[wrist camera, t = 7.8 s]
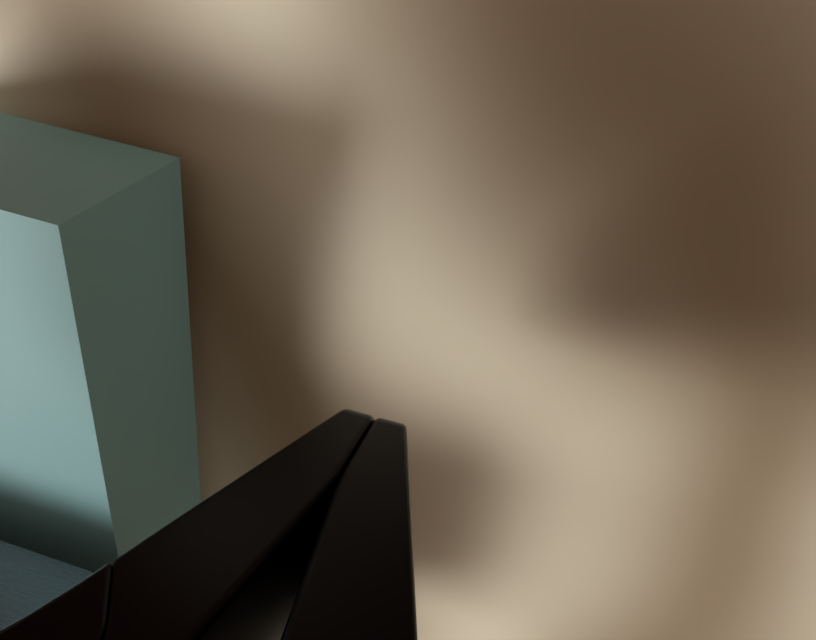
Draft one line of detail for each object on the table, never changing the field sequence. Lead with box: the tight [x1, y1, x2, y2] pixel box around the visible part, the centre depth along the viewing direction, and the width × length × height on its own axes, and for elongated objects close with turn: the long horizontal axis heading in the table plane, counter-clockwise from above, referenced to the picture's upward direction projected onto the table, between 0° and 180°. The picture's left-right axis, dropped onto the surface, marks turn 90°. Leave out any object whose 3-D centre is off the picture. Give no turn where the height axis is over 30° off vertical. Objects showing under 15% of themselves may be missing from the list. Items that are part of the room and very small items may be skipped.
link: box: [0, 113, 201, 572], centre depth 15 cm, size 21×5×2 cm, turn 172°
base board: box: [0, 0, 816, 640], centre depth 15 cm, size 23×24×1 cm
